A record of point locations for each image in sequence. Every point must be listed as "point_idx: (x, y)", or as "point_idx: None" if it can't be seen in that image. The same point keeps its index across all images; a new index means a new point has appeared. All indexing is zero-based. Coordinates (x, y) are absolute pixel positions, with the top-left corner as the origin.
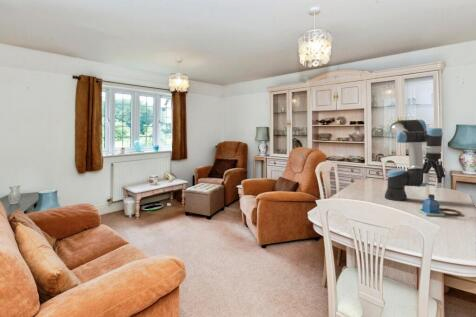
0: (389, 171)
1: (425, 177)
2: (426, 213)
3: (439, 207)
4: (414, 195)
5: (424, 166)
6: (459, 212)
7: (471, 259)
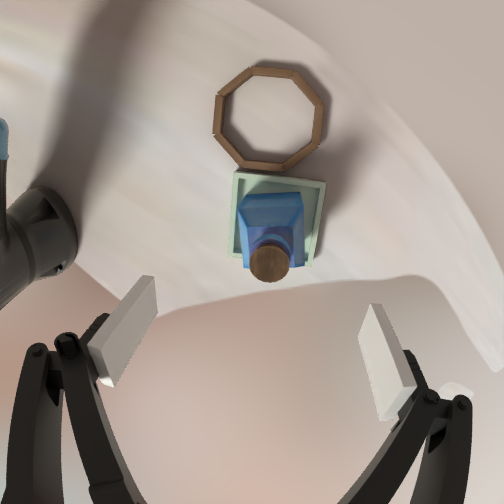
0: None
1: (131, 341)
2: (307, 264)
3: (302, 201)
4: (8, 127)
5: (58, 451)
6: (297, 81)
7: None
